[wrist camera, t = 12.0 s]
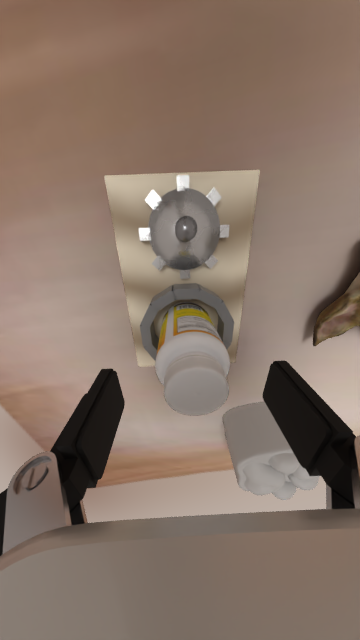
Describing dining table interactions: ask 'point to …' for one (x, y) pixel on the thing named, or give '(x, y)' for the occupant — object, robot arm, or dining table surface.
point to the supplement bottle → (192, 361)
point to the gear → (184, 228)
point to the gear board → (149, 281)
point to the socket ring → (182, 293)
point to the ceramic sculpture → (339, 314)
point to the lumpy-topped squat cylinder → (263, 453)
